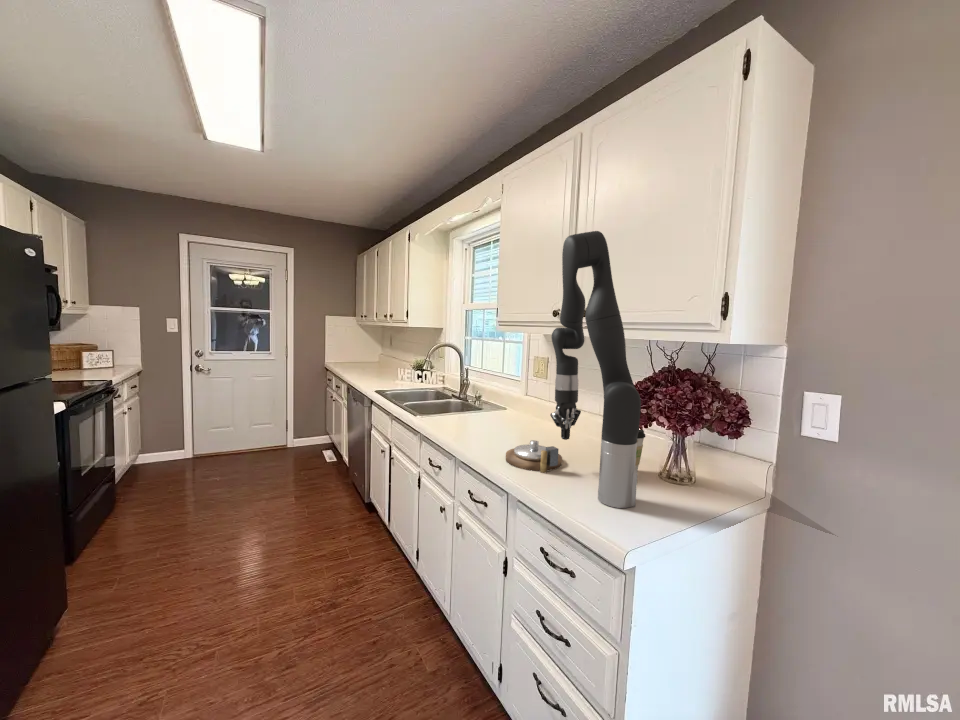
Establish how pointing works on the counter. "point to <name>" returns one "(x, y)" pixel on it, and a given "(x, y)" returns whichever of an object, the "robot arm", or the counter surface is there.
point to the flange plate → (537, 452)
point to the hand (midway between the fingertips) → (565, 439)
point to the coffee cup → (639, 447)
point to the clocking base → (531, 462)
